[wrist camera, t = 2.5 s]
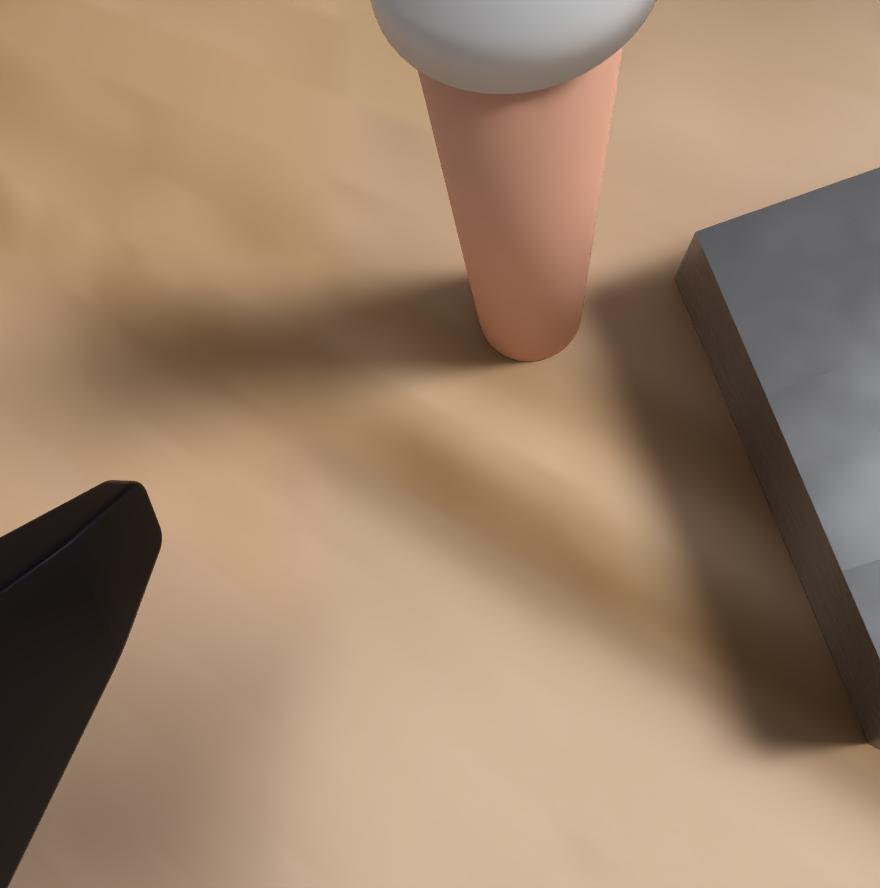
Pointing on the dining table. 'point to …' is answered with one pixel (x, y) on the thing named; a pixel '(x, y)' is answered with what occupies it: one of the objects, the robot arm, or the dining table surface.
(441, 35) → the pin
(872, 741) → the dark grey square base
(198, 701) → the dining table surface
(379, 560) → the dining table surface
